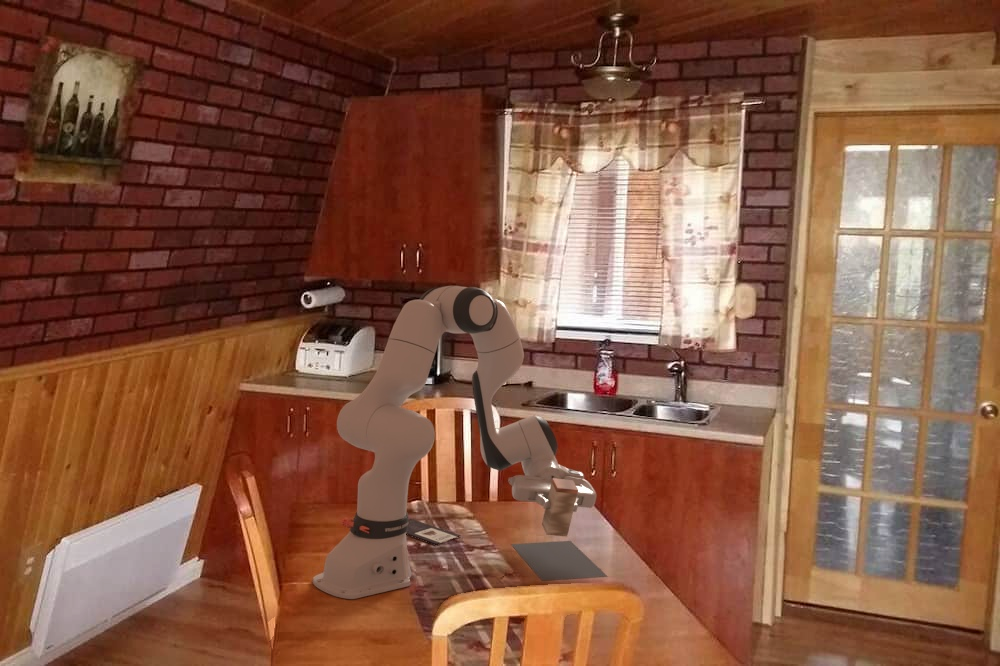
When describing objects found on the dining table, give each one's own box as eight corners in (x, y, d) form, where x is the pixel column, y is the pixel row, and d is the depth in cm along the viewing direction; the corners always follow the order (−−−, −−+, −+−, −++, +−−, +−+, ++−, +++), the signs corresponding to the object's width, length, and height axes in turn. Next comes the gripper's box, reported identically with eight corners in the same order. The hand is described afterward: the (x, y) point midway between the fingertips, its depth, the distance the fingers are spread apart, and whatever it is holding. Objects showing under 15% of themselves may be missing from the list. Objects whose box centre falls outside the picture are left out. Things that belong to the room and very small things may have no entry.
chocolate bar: (410, 518, 245) (460, 535, 233) (410, 522, 245) (460, 539, 234) (386, 525, 238) (436, 543, 226) (386, 529, 238) (436, 547, 227)
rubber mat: (607, 578, 210) (607, 576, 210) (542, 583, 206) (542, 580, 206) (570, 543, 233) (570, 540, 233) (510, 546, 229) (510, 544, 229)
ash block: (546, 534, 210) (557, 487, 207) (541, 524, 215) (552, 478, 212) (567, 536, 212) (578, 490, 208) (562, 525, 216) (572, 480, 213)
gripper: (509, 464, 221) (520, 490, 208) (589, 473, 225) (604, 499, 212) (504, 488, 222) (515, 515, 209) (583, 496, 227) (598, 523, 214)
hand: (561, 507), depth 211 cm, fingers closed on ash block, 5 cm apart
